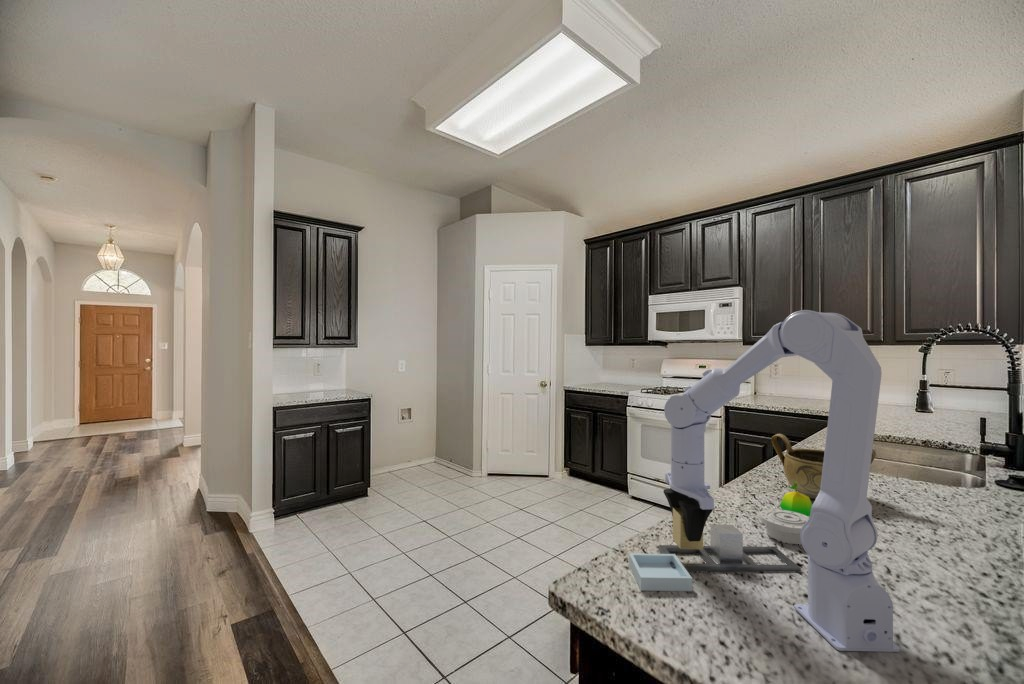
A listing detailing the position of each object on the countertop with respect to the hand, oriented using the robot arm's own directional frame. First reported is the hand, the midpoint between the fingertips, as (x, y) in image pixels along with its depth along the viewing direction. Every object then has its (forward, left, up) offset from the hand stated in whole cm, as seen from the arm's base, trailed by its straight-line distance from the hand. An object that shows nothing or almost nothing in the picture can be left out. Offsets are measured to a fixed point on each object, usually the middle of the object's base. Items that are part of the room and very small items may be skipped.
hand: (687, 534), depth 81 cm
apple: (+19, -31, -5) cm, 37 cm away
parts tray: (-6, +7, -5) cm, 10 cm away
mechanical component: (+6, -21, -3) cm, 22 cm away
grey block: (0, -7, -5) cm, 9 cm away
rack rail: (0, -7, -5) cm, 8 cm away
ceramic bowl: (+35, -47, -5) cm, 59 cm away
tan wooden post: (0, 0, -2) cm, 2 cm away
